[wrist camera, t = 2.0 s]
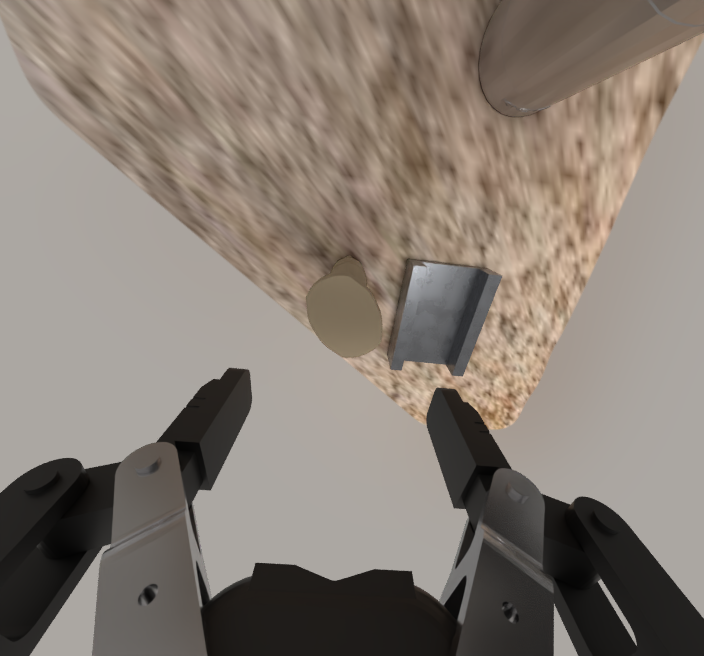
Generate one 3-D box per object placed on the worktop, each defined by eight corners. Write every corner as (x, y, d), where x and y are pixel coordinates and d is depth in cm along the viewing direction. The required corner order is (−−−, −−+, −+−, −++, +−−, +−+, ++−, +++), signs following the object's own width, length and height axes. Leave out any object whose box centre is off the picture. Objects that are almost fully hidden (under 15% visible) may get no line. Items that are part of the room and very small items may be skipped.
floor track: (407, 258, 30) (414, 265, 27) (487, 268, 31) (502, 275, 28) (387, 355, 37) (390, 369, 34) (453, 361, 37) (462, 376, 34)
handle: (355, 234, 29) (356, 263, 16) (376, 282, 32) (394, 342, 18) (319, 253, 30) (291, 295, 17) (343, 298, 33) (336, 365, 19)
